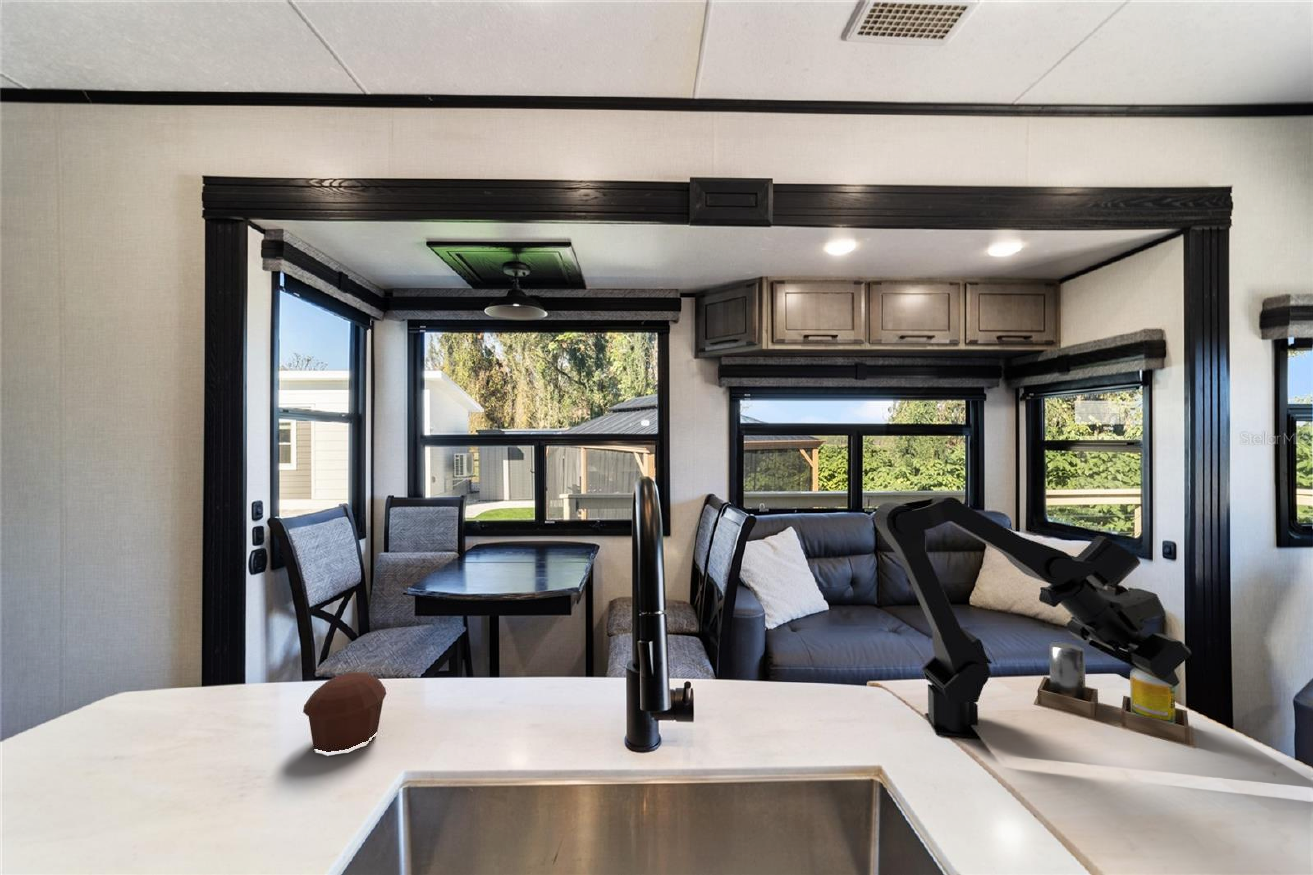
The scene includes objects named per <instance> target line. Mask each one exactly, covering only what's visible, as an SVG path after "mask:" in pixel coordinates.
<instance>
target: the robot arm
mask: <svg viewBox="0 0 1313 875" xmlns="http://www.w3.org/2000/svg"><path fill="white" fill-rule="evenodd" d="M873 522H874V524H875V527H876V528H877V530H878V531H879V533H880V534H881V536H882V537H883V539H884V540H885V541H886V543H887V544H888V545H889V546H890V547H891V549H892V550H893V551H894V553H896V555H897V556H898V557H899V560H900V563H901V565H902V567H903V569H904V572H905V573H906V575H907V577H908V580H909V582H910V584H911V586H912V588H913V591H914V592H915V595H916V598H917V600H918V602H919V604H920V607H921V609H922V611H923V613H924V615H925V618H926V620H927V622H928V624H929V627H930V628H931V629H930V630H931V632H932V642H931V644H932V649H933V651H934V656H933V657H932V658H930V660H928V661H927V663H925V664H924V665H923V666H922V668H921V671H922V673H923V675H924V678H925V679H926V680H927V681H928V682H929V684H927V711H928V712H926V713H924V716H925V719H926V720H927V722H928V723H929V725H930V727H931V728H932V729H933V732H934V733H935V734H936V735H939V736H950V737H958V738H968V739H980V735H979V734H978V733H977V731H976V730H975V729H974V726H978V725H979V711H978V710H979V708H978V707H979V706H978V702H979V700H980V697H981V694H982V692H983V689H984V685H986V683H987V682H988V681H989V678H990V677H991V668H990V665H989V664H992V663H993V661H991V659H990V658H989V657H988V655H987V654H986V651H985V648H984V645H983V642H982V640H981V639H980V638H979V637H977V636H976V635H974V634H972V633H971V632H970V631H968V630H966V629H965V628H963V627H962V626H961V625H960V623H959V621H958V618H957V617H956V614H955V612H954V610H953V608H952V606H951V603H950V600H949V599H948V596H947V595H946V592H945V590H944V588H943V586H942V584H941V581H940V579H939V576H938V575H937V572H936V570H935V568H934V566H933V564H932V561H931V559H930V557H929V555H928V553H927V535H926V530H931V529H934V528H936V527H939V526H940V525H943V524H945V523H949V524H950V525H952V526H954V527H956V528H957V529H959V530H961V531H962V532H964V533H965V534H968V535H970V536H972V537H973V538H975V539H977V540H979V541H980V542H982V543H983V544H985V545H988V546H989V547H991V548H993V549H994V550H996V551H998V552H999V553H1001V554H1002V555H1003V556H1004V557H1005V558H1006V559H1007V560H1008V561H1009V563H1011V565H1013V566H1014V567H1016V568H1017V569H1018V570H1019V571H1020V572H1021V573H1023V574H1024V575H1026V576H1028V577H1030V578H1034V579H1036V580H1039V581H1042V582H1045V583H1047V584H1049V585H1048V586H1040V593H1039V596H1038V601H1039V602H1041V603H1042V604H1046V605H1047V606H1050V607H1052V608H1056V607H1058V606H1059V604H1060V605H1061V606H1062V607H1063V608H1064V609H1065V610H1066V611H1067V612H1068V613H1069V614H1070V615H1072V617H1070V620H1069V621H1068V622H1066V623H1067V624H1066V625H1067V626H1066V627H1067V628H1066V629H1067V632H1068V633H1069V634H1070V635H1071V636H1073V637H1074V639H1077V640H1079V641H1081V642H1083V643H1087V642H1088V640H1089V642H1088V645H1089V646H1090V647H1092V648H1094V649H1096V650H1098V651H1100V652H1102V653H1105V654H1106V655H1108V656H1110V657H1113V658H1115V659H1116V660H1118V661H1121V662H1123V663H1125V664H1127V665H1129V666H1131V667H1133V668H1137V669H1139V670H1141V671H1143V672H1145V673H1147V674H1149V675H1151V676H1153V677H1155V678H1157V679H1160V680H1162V681H1164V682H1166V683H1168V684H1170V685H1172V686H1174V687H1175V688H1176V687H1177V686H1178V685H1179V684H1180V680H1179V677H1178V675H1177V673H1176V672H1175V670H1176V669H1178V668H1179V667H1180V666H1181V665H1182V664H1183V663H1184V662H1185V661H1186V660H1188V658H1189V657H1190V656H1191V655H1192V650H1190V648H1189V647H1188V646H1187V645H1186V644H1184V643H1183V642H1182V641H1181V640H1178V639H1176V638H1174V637H1171V636H1168V635H1165V634H1163V633H1151V634H1150V635H1148V636H1144V635H1142V634H1139V633H1138V632H1142V631H1143V630H1144V629H1145V628H1146V625H1145V624H1144V623H1143V622H1147V621H1148V620H1151V619H1153V618H1156V617H1162V616H1164V615H1166V613H1167V611H1166V610H1165V608H1164V606H1163V604H1162V602H1161V600H1160V598H1159V596H1158V594H1157V593H1155V592H1151V591H1149V590H1144V589H1143V588H1133V587H1127V588H1126V587H1125V586H1123V585H1121V582H1122V581H1123V580H1125V579H1126V578H1127V577H1128V576H1130V574H1132V572H1133V571H1135V569H1137V568H1138V567H1139V566H1140V564H1141V560H1140V559H1139V558H1138V557H1137V555H1136V554H1134V552H1132V551H1129V550H1128V549H1126V548H1125V547H1123V546H1121V545H1119V544H1117V543H1116V542H1114V541H1112V540H1111V539H1109V538H1108V537H1107V536H1103V535H1102V536H1101V535H1097V536H1096V537H1095V538H1093V539H1092V540H1091V542H1090V543H1089V544H1088V546H1087V547H1086V548H1084V549H1083V550H1082V551H1081V552H1080V553H1079V554H1078V555H1077V556H1076V555H1075V556H1074V555H1071V554H1068V553H1067V552H1065V551H1063V550H1061V549H1058V548H1055V547H1052V546H1049V545H1047V544H1043V543H1041V542H1037V541H1035V540H1031V539H1028V538H1026V537H1023V536H1021V535H1020V534H1018V533H1015V532H1014V531H1012V530H1010V529H1009V528H1007V527H1005V526H1003V525H1001V524H1000V523H998V522H996V521H995V520H992V519H991V518H989V517H987V516H986V515H984V514H982V513H981V512H978V511H977V510H975V509H973V508H971V507H969V506H968V505H966V504H964V503H963V502H962V501H961V500H960V499H958V498H955V497H954V496H947V495H937V496H935V497H930V498H927V499H922V500H915V501H908V502H904V503H897V502H892V501H891V502H890V501H888V502H884V503H882V504H880V505H879V506H878V507H877V508H876V509H875V512H874V514H873ZM1097 587H1098V588H1102V589H1104V588H1105V587H1107V590H1106V596H1105V595H1104V594H1103V593H1102V592H1101V591H1100V590H1099V589H1097Z"/></svg>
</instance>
